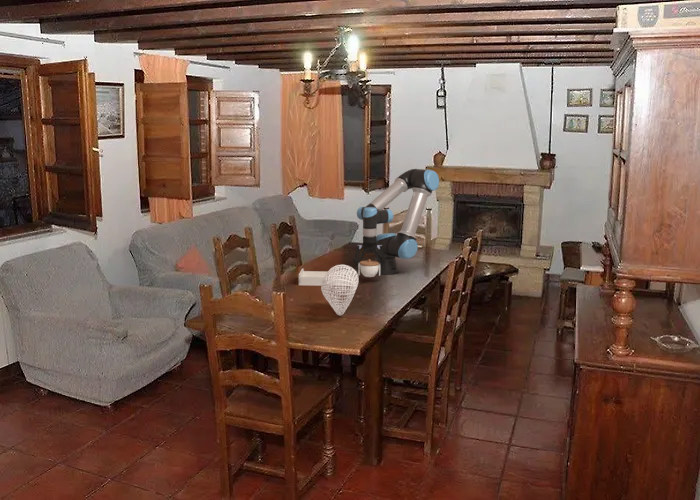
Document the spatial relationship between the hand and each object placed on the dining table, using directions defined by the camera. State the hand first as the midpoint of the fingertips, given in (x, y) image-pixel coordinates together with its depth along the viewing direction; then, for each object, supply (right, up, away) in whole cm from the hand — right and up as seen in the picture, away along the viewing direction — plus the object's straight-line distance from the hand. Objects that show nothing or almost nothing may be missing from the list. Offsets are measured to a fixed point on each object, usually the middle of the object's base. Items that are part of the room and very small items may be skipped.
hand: (369, 274), depth 361 cm
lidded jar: (0, -1, 0) cm, 1 cm away
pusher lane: (-23, -4, +2) cm, 23 cm away
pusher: (-13, -3, +1) cm, 13 cm away
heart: (-15, -17, -59) cm, 63 cm away
